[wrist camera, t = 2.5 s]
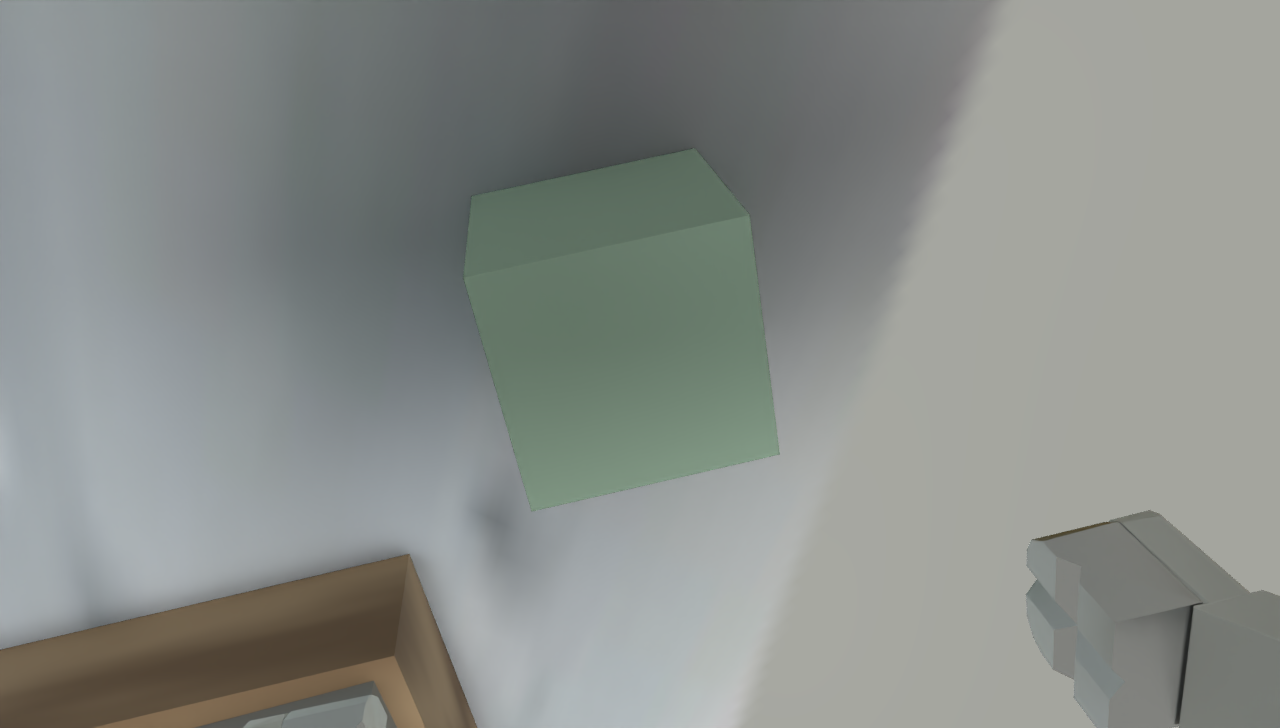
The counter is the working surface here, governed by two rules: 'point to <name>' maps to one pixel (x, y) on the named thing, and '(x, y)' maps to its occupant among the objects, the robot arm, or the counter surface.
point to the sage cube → (621, 326)
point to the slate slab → (236, 724)
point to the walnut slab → (244, 658)
